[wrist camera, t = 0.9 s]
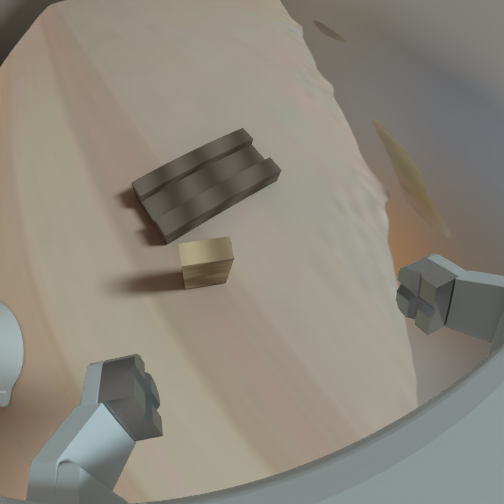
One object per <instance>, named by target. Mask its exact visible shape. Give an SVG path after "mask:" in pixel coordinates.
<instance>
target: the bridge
mask: <svg viewBox="0 0 504 504" xmlns="http://www.w3.org/2000/svg"><path fill="white" fill-rule="evenodd" d="M252 141H253V138H252V137H251V136H250V135H249V134H248V133H247V132H246V131H245V130H244V129H243V128H242V129H239V130H237V131H235V132H232V133H230V134H228V135H226V136H223V137H221V138H219V139H217V140H214V141H212V142H210V143H208V144H206V145H204V146H202V147H199V148H197V149H195V150H193V151H191V152H189V153H187V154H185V155H183V156H181V157H179V158H177V159H175V160H173V161H171V162H169V163H167V164H165V165H163V166H161V167H160V168H158V169H156V170H154V171H152V172H150V173H148V174H146V175H145V176H143V177H141V178H139V179H137V180H135V181H134V182H132V186H133V189H134V193H135V195H136V196H137V198H138V199H139V201H140V203H141V204H142V206H143V207H144V209H145V211H146V212H147V214H148V215H149V217H150V219H151V220H152V222H153V223H154V225H155V226H156V228H157V230H158V231H159V233H160V234H161V236H162V237H163V239H164V240H165V242H166V243H167V244H169V243H170V242H172V241H174V240H175V239H177V238H179V237H180V236H182V235H184V234H185V233H187V232H189V231H190V230H192V229H194V228H195V227H197V226H199V225H200V224H202V223H204V222H205V221H207V220H209V219H210V218H212V217H214V216H215V215H217V214H219V213H221V212H222V211H224V210H226V209H227V208H229V207H231V206H233V205H234V204H236V203H238V202H240V201H241V200H243V199H245V198H247V197H248V196H250V195H252V194H254V193H255V192H257V191H259V190H261V189H263V188H264V187H266V186H268V185H270V184H272V183H273V182H275V181H277V179H278V177H279V174H280V172H281V169H280V168H279V167H278V166H277V165H276V163H275V162H274V161H273V160H272V159H271V158H268V159H266V160H265V159H264V158H263V157H262V156H261V155H260V153H259V152H258V151H257V150H256V149H255V148H254V147H253V146H252Z"/></svg>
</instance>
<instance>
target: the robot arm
mask: <svg viewBox="0 0 504 504" xmlns="http://www.w3.org/2000/svg"><path fill="white" fill-rule="evenodd" d="M398 281H399V283H400V284H401V285H400V286H399V288H398V290H397V296H396V301H397V304H398V308H399V309H400V311H401V312H402V313H403V314H404V315H405V316H406V317H408V318H412V319H414V321H415V325H416V326H417V327H418V328H420V329H421V330H422V331H423V332H424V333H425V334H426V335H429V334H431V333H433V332H435V331H437V330H438V329H440V328H442V327H444V326H445V325H446V327H448V328H451V329H453V330H456V331H459V332H462V333H464V334H467V335H470V336H473V337H476V338H478V339H481V340H484V341H487V342H490V343H491V345H490V348H489V350H488V357H486V358H485V359H484V360H483V361H482V362H481V363H479V364H478V365H477V366H476V367H474V368H473V369H472V370H471V371H469V372H468V373H467V374H466V375H464V376H463V377H461V378H460V379H459V380H457V381H456V382H455V383H453V384H452V385H451V386H449V387H448V388H446V389H445V390H444V391H442V392H441V393H439V394H438V395H437V396H435V397H433V398H432V399H430V400H429V401H427V402H426V403H424V404H423V405H421V406H420V407H418V408H416V409H415V410H413V411H412V412H410V413H408V414H407V415H405V416H403V417H402V418H400V419H398V420H396V421H395V422H393V423H391V424H389V425H388V426H386V427H384V428H382V429H380V430H379V431H377V432H375V433H373V434H371V435H369V436H367V437H365V438H363V439H361V440H359V441H357V442H355V443H353V444H351V445H349V446H347V447H344V448H342V449H340V450H338V451H336V452H333V453H331V454H329V455H326V456H324V457H322V458H319V459H317V460H314V461H312V462H309V463H307V464H304V465H302V466H299V467H296V468H293V469H291V470H288V471H285V472H282V473H279V474H276V475H273V476H270V477H267V478H264V479H260V480H257V481H254V482H250V483H246V484H243V485H239V486H235V487H231V488H227V489H223V490H219V491H214V492H210V493H205V494H200V495H194V496H189V497H183V498H177V499H170V500H162V501H154V502H145V503H133V504H504V276H500V275H494V274H488V273H482V272H476V271H469V272H467V271H465V270H463V269H462V268H460V267H459V266H457V265H455V264H454V263H452V262H450V261H448V260H447V259H445V258H443V257H442V256H440V255H438V254H431V255H429V256H427V257H425V258H423V259H421V260H419V261H416V262H414V263H412V264H410V265H407V266H405V267H403V268H401V269H400V270H399V273H398ZM22 363H23V340H22V335H21V331H20V328H19V325H18V323H17V320H16V318H15V317H14V315H13V314H12V312H11V311H10V310H9V309H8V308H7V307H6V306H5V305H4V304H2V303H1V302H0V407H7V406H8V405H9V403H10V398H11V390H12V387H13V385H14V384H15V382H16V380H17V379H18V377H19V374H20V371H21V368H22ZM159 406H160V399H159V394H158V390H157V387H156V385H155V382H154V380H153V378H152V376H151V375H150V374H148V373H146V372H145V364H144V362H143V360H142V359H141V357H140V355H138V354H134V355H129V356H124V357H120V358H115V359H110V360H105V361H101V362H96V363H91V364H90V365H89V366H88V367H87V372H86V377H85V382H84V388H83V393H82V399H81V405H80V406H78V407H75V409H74V410H73V411H72V412H71V413H70V415H69V416H68V417H67V418H66V419H65V421H64V422H63V423H62V424H61V426H60V427H59V428H58V429H57V430H56V432H55V433H54V434H53V435H52V437H51V438H50V439H49V440H48V442H47V443H46V444H45V445H44V447H43V448H42V449H41V450H40V452H39V453H38V454H37V455H36V457H35V458H34V459H33V460H32V462H31V468H30V474H29V482H28V490H27V499H26V501H25V500H19V499H12V498H7V497H1V496H0V504H130V503H128V502H127V501H126V500H125V499H123V498H122V497H120V496H119V495H117V494H116V493H114V492H113V489H114V487H115V485H116V483H117V480H118V478H119V476H120V474H121V472H122V470H123V468H124V466H125V464H126V462H127V460H128V458H129V456H130V454H131V452H132V450H133V448H134V446H135V444H136V442H135V441H140V440H145V439H150V438H155V437H159V436H163V432H162V421H161V416H160V415H159V413H158V412H157V409H158V407H159Z"/></svg>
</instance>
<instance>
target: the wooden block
mask: <svg viewBox="0 0 504 504" xmlns="http://www.w3.org/2000/svg"><path fill="white" fill-rule="evenodd" d="M178 245H179V252H180V259H181V266H182V272H183V278H184V284H185V289H189V288H196V287H203V286H209V285H215V284H222V283H226V281H227V278H228V275H229V272H230V269H231V266H232V263H233V260H234V256H233V251H232V246H231V241H230V237H223V238H216V239H208V240H201V241H194V242H187V243H180V244H178Z"/></svg>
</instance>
